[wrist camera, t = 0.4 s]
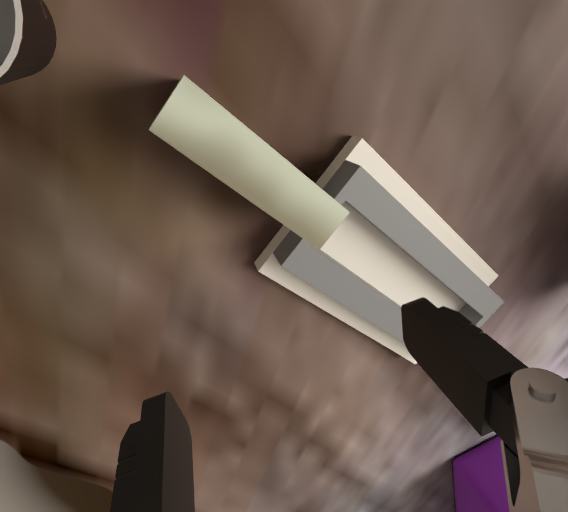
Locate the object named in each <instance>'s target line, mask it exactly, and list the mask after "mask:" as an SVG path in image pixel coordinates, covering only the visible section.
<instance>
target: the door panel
mask: <svg viewBox="0 0 568 512" xmlns="http://www.w3.org/2000/svg"><path fill="white" fill-rule="evenodd" d="M149 131H151V132H152V133H154V134H155V135H157V136H158V137H159V138H161V139H162V140H164V141H165V142H166V143H168V144H169V145H171V146H172V147H174V148H175V149H176V150H178V151H179V152H181V153H182V154H184V155H185V156H186V157H188V158H189V159H191V160H192V161H193V162H195V163H196V164H198V165H199V166H201V167H202V168H203V169H205V170H206V171H208V172H209V173H211V174H212V175H213V176H215V177H216V178H218V179H219V180H220V181H222V182H223V183H225V184H226V185H228V186H229V187H230V188H232V189H233V190H235V191H236V192H238V193H239V194H240V195H242V196H243V197H245V198H246V199H248V200H249V201H250V202H252V203H253V204H255V205H256V206H257V207H259V208H260V209H262V210H263V211H265V212H266V213H267V214H269V215H270V216H272V217H273V218H275V219H276V220H277V221H279V222H280V223H282V224H283V225H284V226H286V227H287V228H289V229H290V230H292V231H293V232H294V233H296V234H297V235H299V236H300V237H302V238H303V239H304V240H306V241H307V242H309V243H310V244H312V245H313V246H314V247H316V248H317V249H319V250H320V249H321V247H322V246H323V245H324V244H325V243H326V241H327V240H328V239H329V238H330V236H331V235H332V234H333V233H334V231H335V230H336V229H337V228H338V226H339V225H340V224H341V223H342V222H343V220H344V219H345V218H346V217H347V215H348V214H349V213H350V212H349V211H348V210H347V209H345V208H344V207H343V206H342V205H341V204H339V203H338V202H337V201H336V200H334V199H333V198H332V197H331V196H330V195H328V194H327V193H326V192H325V191H324V190H322V189H321V188H320V187H319V186H318V185H316V184H315V183H314V182H313V181H311V180H310V179H309V178H308V177H307V176H305V175H304V174H303V173H302V172H301V171H299V170H298V169H297V168H296V167H295V166H293V165H292V164H291V163H290V162H289V161H287V160H286V159H285V158H284V157H282V156H281V155H280V154H279V153H278V152H276V151H275V150H274V149H273V148H272V147H270V146H269V145H268V144H267V143H266V142H264V141H263V140H262V139H261V138H260V137H258V136H257V135H256V134H255V133H253V132H252V131H251V130H250V129H249V128H247V127H246V126H245V125H244V124H243V123H241V122H240V121H239V120H238V119H237V118H235V117H234V116H233V115H232V114H231V113H229V112H228V111H227V110H226V109H224V108H223V107H222V106H221V105H220V104H218V103H217V102H216V101H215V100H214V99H212V98H211V97H210V96H209V95H208V94H206V93H205V92H204V91H203V90H201V89H200V88H199V87H198V86H197V85H195V84H194V83H193V82H192V81H191V80H189V79H188V78H187V77H186V76H185V75H184V76H183V77H182V78H181V79H180V81H179V82H178V84H177V85H176V87H175V88H174V90H173V91H172V93H171V94H170V96H169V97H168V99H167V101H166V102H165V104H164V105H163V107H162V108H161V110H160V111H159V113H158V114H157V116H156V118H155V119H154V121H153V123H152V125H151V127H150V128H149Z"/></svg>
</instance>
